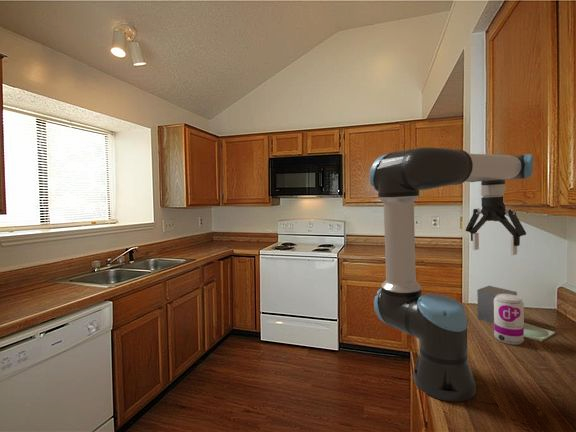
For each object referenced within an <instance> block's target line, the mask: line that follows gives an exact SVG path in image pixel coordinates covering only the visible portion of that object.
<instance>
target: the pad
mask: <svg viewBox="0 0 576 432" xmlns="http://www.w3.org/2000/svg"><path fill="white" fill-rule="evenodd" d="M555 334H556V332H555V331H554V330H553V331H552V330H550V329H546V328H543V327H539V326H536V325H533V324H530V323H527V322H524V338H525V337H526V338H527V339H531V340H534V341H537V342H542V341H545V340H547V339H548V338H550V337H552V336H554V335H555Z"/></svg>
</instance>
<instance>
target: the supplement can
mask: <svg viewBox="0 0 576 432" xmlns="http://www.w3.org/2000/svg"><path fill="white" fill-rule="evenodd" d="M524 308H525V304H524V302H523V300H522V297H521V296H518V295H517V296H516V295H512V294H497V295H496V297H495V298H494V324H493V335H494V337H495V339H497V340H498V341H499V342H501V343H504V344H507V345H514V346H516V345H517V346H518V345H521V344H522V343H524V341H525V336H524V323H525V322H524V321H525V316H524V315H525V312H524V311H525V309H524Z"/></svg>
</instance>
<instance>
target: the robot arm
mask: <svg viewBox="0 0 576 432" xmlns="http://www.w3.org/2000/svg"><path fill="white" fill-rule="evenodd" d="M531 154H532V153H528V154H527V153H525V154H518V155H513V154H512V155H509V154H503V153H495V154H493V153H492V154H485V153H484V154H483V153H469V152H468V151H466V150H463V149H457V148H456V149H455V148H446V147H445V148H444V147H433V146H424V147H416V148H412V149H406V150H405V149H404V150H399V151H393V152H389V153H387V154H383V155H380V156H378V158H376V159H375V160H374V162H373V163H372V165H371V167H370V170H369V183H370V185H371V186H372V188H373V189H374V191H376V192H377V194H378V195H377V196H378V200H380V202H382V203H383V221H384V222H383V223H384V224H383V226H384V227H383V228H384V249H385V250H384V253H385V254H384V255H385V258H384V259H385V262H384V263H385V280H384V281H383V282H382V283H381V284H380V288H379V289H378V290H377V291H376V295H375V296H374V300H373V309H374V312H375V314H376V316H377V318H378V319H379V320H380V321H381V322H382V323H384V324H386V325H387V326H389V327H390V328H393V329H396V330H398V331H400V332H403V333H405V334H408V335H409V336H411V337H414V338H415V339H417V340H418V342H419V343H418V344H419V353H418V355H417V359H416V363H415V365H414V368H413V381H414V384H415V385H416V387H417V388H418V389H419V390H421V391H422V392H423V393H424V394H426V395H428V396H430V397H432V398H434V399H438V400H441V401H444V402H451V403H452V402H454V403H457V402H460V403H462V402H466V401H469V400H471V399H472V398H473V397H475V395H476V392H477V391H476V390H477V389H476V387H477V386H476V385H477V383H476V380H475V378H474V375H473V372H472V369H471V366H470V363H469V361H468V325H469V323H468V318H467V311H466V309H465V307H464V305H463V304H462V303H461V302H460V301H458V300H457V299H455V298H452V297H451V296H448V295H445V294H437V293H425V294H424V293H423V294H422V285H420V284H419V282H417V280H416V278H417V276H416V275H417V274H416V246H415V245H416V242H415V241H416V237H415V236H416V235H415V206H414V204H415V201H416V200H417V199H419V198H420V191H424V190H432V189H437V188H442V187H446V186H447V187H448V186H454V185H455V186H458V185H461V184H464V183H465V182H467V183H469V182H470V183H476V182H481V183H480V185H481V188H480V189H481V190H480V192H481V193H480V194H481V196H482V197H481V209H480V208H479V207H478V208H473V211H472V216H471V217H470V220H469V221H468V224H467V226H466V228H465V232H469V233H470V241H471V242H472V251H476V250H480V240H479V239H480V237H479V232H478V231H479V229H481V228H482V227H483V226H484V225H485V223H486V222H491V221H493V222H499V223H501V225H503V226H504V227H505V229H506V230H507V231H508V232H509V233H510V234H511V236H510V256H515V255H516V256H517V255H518V247H519V246H520V245H521V242H520V241H521V237H522V236H526V235H527V232H526V231H525V228H524V226H523V225H522V222H521V221H520V219H519V217H518V216H517V211H516V212H515V211H511V209H506V206H505V205H504V203H503V196H505V195H504V189H505V190H506V180H509V181H510V180H527V179H530V178H529V177H530V176H531V174H532V172H533V161H534V159H533V157H532V155H531ZM506 214H507V216H508V217H509V219H510V221H511V222H510V221H509V220H508V218H507V217H506ZM480 215H482V216H481V217H480ZM479 217H480V218H479ZM478 219H479V220H478ZM477 220H478V222H477ZM476 222H477V223H476Z"/></svg>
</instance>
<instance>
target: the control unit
mask: <svg viewBox="0 0 576 432" xmlns="http://www.w3.org/2000/svg"><path fill="white" fill-rule="evenodd" d="M476 291H477V294H476V295H477V320H479V319H481V320H480V321H482V320H484V321H483V322H485V321H487V322H486V323H488V322H490V323H489V324H491V323H494V298H495V297H496V295H497V294H512V295H516V296H518V292H517V291H516V290H515V291H514V290H510V289H506V288H501V287H496V286H492V285H487V286H483V287H481V288H479V289H477V290H476Z"/></svg>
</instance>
